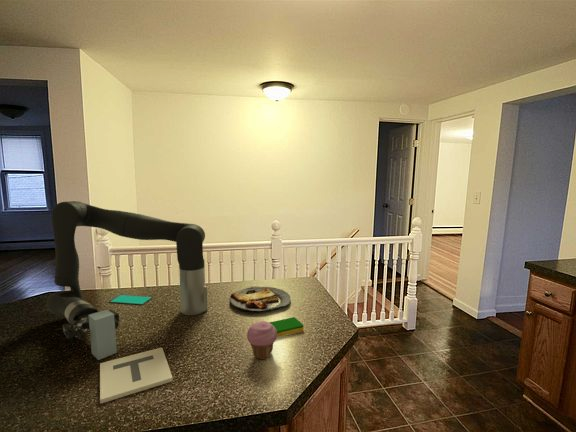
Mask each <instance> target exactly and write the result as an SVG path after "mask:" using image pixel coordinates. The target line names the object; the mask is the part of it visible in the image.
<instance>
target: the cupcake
mask: <svg viewBox="0 0 576 432" xmlns="http://www.w3.org/2000/svg"><path fill="white" fill-rule="evenodd" d="M269 322H270V321H265V320H261V321H257V322H254V323H252V324H251V325H249V328H247V332H246V338H247V341H248V343H249V344H250V346H251V349H252V354H253V357H255V358H257V359H259V360H260V359H261V360H267V359H269V357H270V356H271V354H272V353H273V349H274V343H275V342H276V341H277V338H278V337H277V330H276V328H275V327H274V326H273V325H272V324H270V323H269Z"/></svg>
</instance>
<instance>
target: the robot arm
mask: <svg viewBox="0 0 576 432" xmlns="http://www.w3.org/2000/svg"><path fill="white" fill-rule="evenodd" d="M51 210H52V211H51V223H52V229H53V230H52V231H53V240H54V248H55V266H54V267H55V268H54V284H55V285H56V286H58V287H66V288H69V290H65V291H58V292H54V293H51V294H50V295H49V296H48V298H46V308H47V310H48V311H49V312H50V314H51V313H52V314H53V315H55V316H60V317H64V318H65V319H66V320H67V322H68V323H69V324H68V323H63V324H62V333H63V334H64V336H65V337H66V339H68V340H70V339H72V338H73V337H75V338H78V340H81V341H85V340H87V333H86V332H87V331H88V330H90V328H89V316H88V315H90V314H93V313H97V312H99V310H98V309H97V308H95V307H94V306H93V305H92V304H91V303H89V302H87V301H85V300H84V297H83V293H82V291H81V288H80V287H81V286H80V280H79V275H80V257H79V255H78V251H77V248H76V242H75V235H76V229H77V227H89V228H97V229H102V230H105V231H107V232H109V233H112V234H113V235H116V236H119V237H122V238H128V239H132V240H133V239H134V240H140V241H157V240H160V241H162V240H163V241H168V242H169V241H171V242H174V243H175V245H176V246H175V247H176V258H177V262H178V268H179V271H178V273H179V275H178V276H179V295H180V296H179V299H180V312H181V314H183V315H186V316H196V315H201V314H202V313H204V312H206V311H208V287H207V286H206V273H205V271H206V270H205V267H206V266H205V259H204V250H203V249H204V247H203V246H204V241H205V238H206V233H205V230H204V229H203V228H202V226H200V225H198V224H196V223H187V222H186V223H185V222H178V221H177V222H176V221H175V222H174V221H170V220H165V219H162V218H158V217H152V216H150V215H149V216H148V215H144V214H140V213H136V212H131V211H130V212H129V211H122V210H117V209H116V210H115V209H106V208H101V207H98V206H94V205H91V204H88V203H85V202H81V201H78V200H77V201H76V200H75V201H74V200H72V201H62V202H58V203H56V204H55V205H54V207H52V209H51ZM108 310H109V311H110V312H112V313H113V314H114V320H115V330H116V329H118V328H119V325H120V324H119V323H120V314H119V313H118V312H116V311H115V310H112V309H108Z"/></svg>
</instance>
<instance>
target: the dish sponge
mask: <svg viewBox="0 0 576 432" xmlns="http://www.w3.org/2000/svg"><path fill="white" fill-rule="evenodd" d="M268 322H269V323H270V324H272V325H273V326H274V327H275V328H276V330H277V338H280V337H284V336H288V335H292V334H296V333H297V334H298V333H300V332H301V331H302V332H304V330H305V329H304V328H305V327H304V324H303V323H302V322H301V321H300V320H299V319H298V318H297V317H295V316H292V317H289V318H284V319H278V320H273V321H268ZM302 332H301V333H302Z"/></svg>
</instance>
